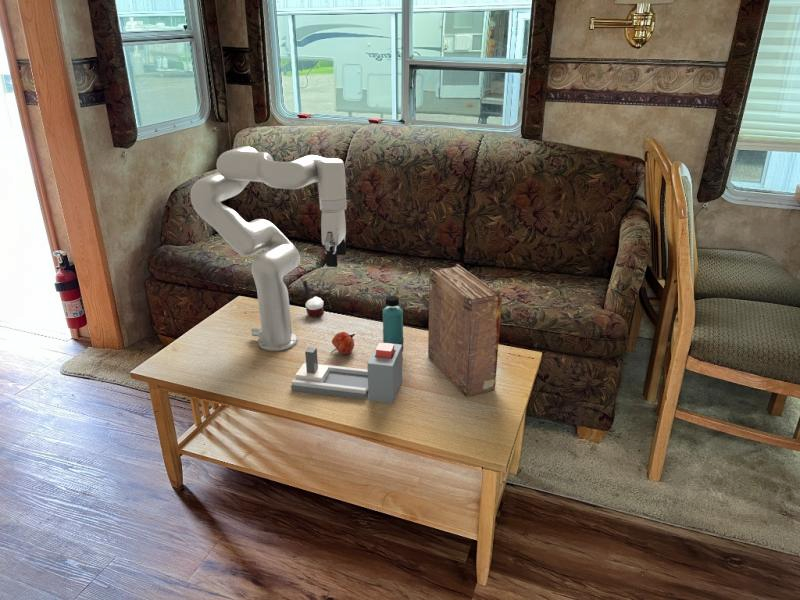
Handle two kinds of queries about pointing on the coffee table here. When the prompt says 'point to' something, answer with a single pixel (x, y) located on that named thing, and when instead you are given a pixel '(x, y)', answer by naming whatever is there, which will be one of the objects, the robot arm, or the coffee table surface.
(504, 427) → the coffee table surface
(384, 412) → the coffee table surface
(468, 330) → the book
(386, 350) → the button
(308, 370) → the carriage
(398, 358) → the button cabinet
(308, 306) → the cocoa
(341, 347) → the pomegranate
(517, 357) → the coffee table surface
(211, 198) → the robot arm
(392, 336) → the beverage bottle
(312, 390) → the rail bed
